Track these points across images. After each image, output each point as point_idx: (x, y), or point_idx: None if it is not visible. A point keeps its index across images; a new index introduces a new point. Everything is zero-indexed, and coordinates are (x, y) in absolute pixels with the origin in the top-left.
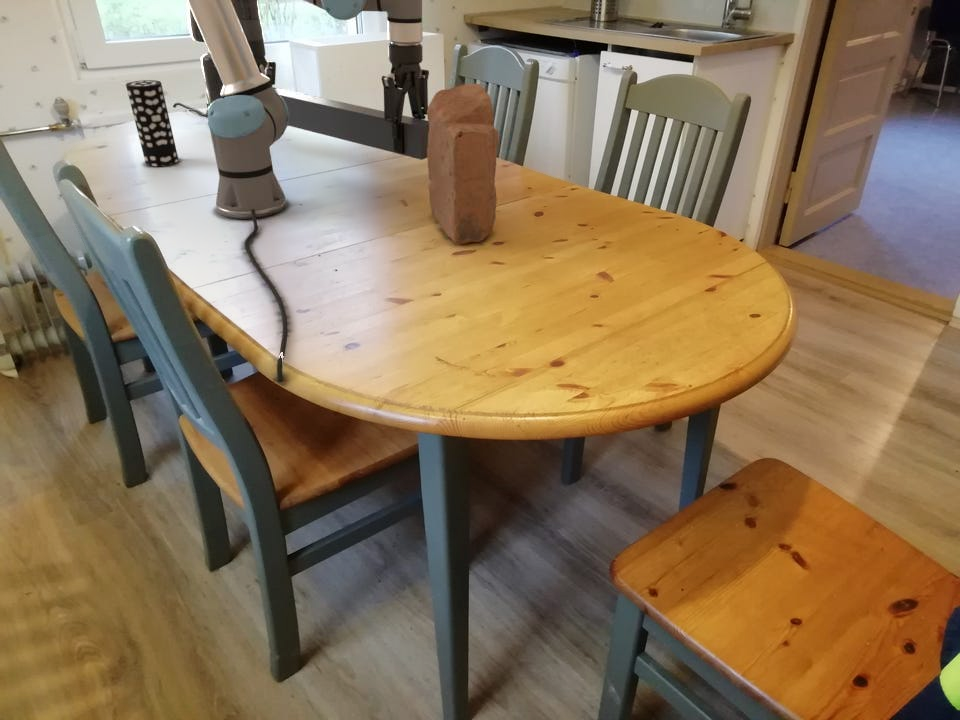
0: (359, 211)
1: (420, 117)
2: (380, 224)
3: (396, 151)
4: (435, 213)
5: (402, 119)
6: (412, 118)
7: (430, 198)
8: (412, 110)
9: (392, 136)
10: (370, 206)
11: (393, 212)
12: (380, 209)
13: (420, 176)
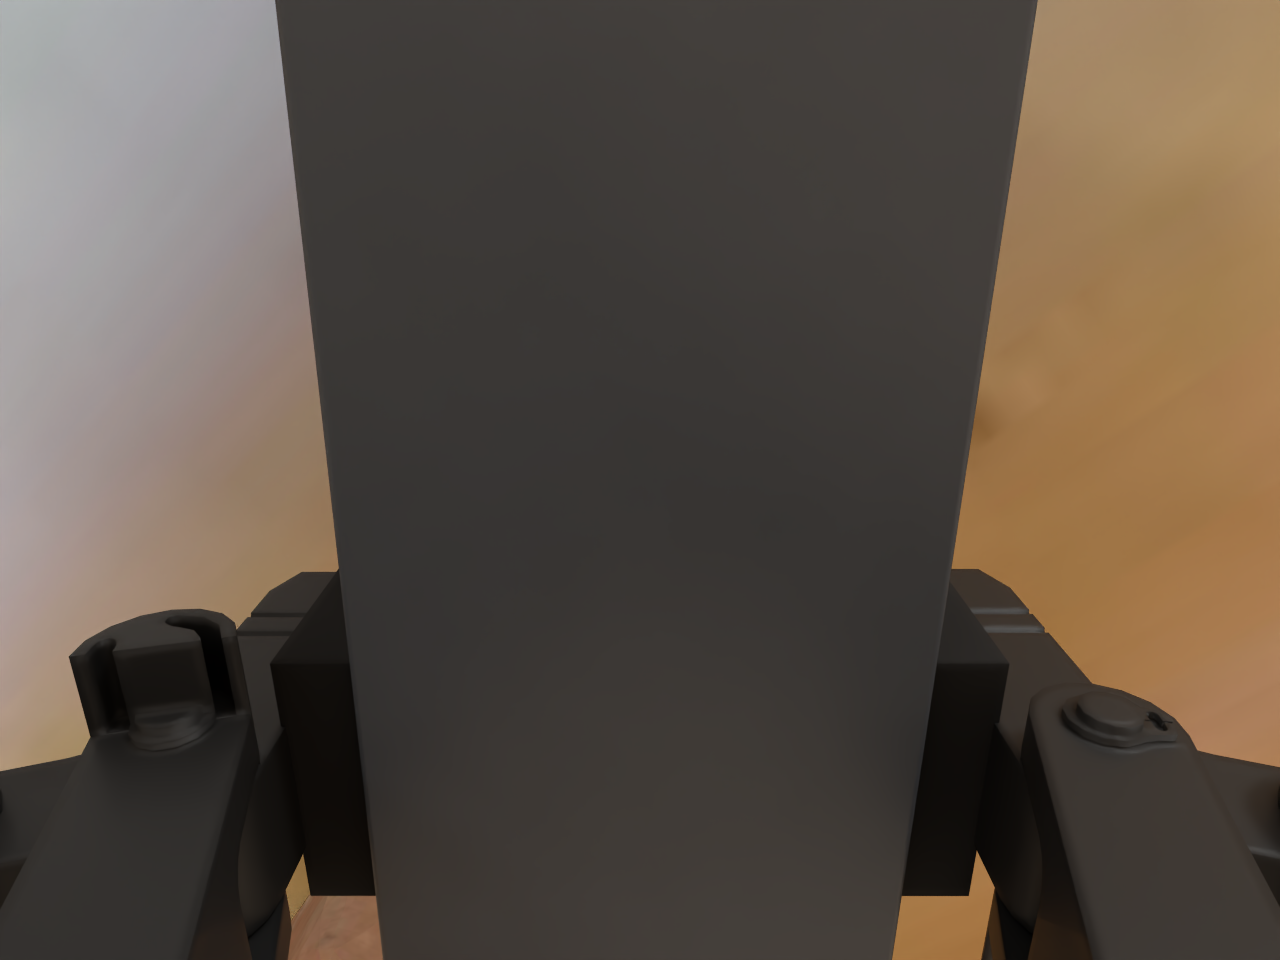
0: (27, 381)
1: (989, 941)
2: (7, 667)
3: None
4: (294, 923)
5: (584, 728)
6: (825, 839)
7: (315, 910)
8: (1052, 871)
9: (277, 594)
10: (163, 371)
11: (217, 591)
12: (183, 478)
13: (1058, 170)
